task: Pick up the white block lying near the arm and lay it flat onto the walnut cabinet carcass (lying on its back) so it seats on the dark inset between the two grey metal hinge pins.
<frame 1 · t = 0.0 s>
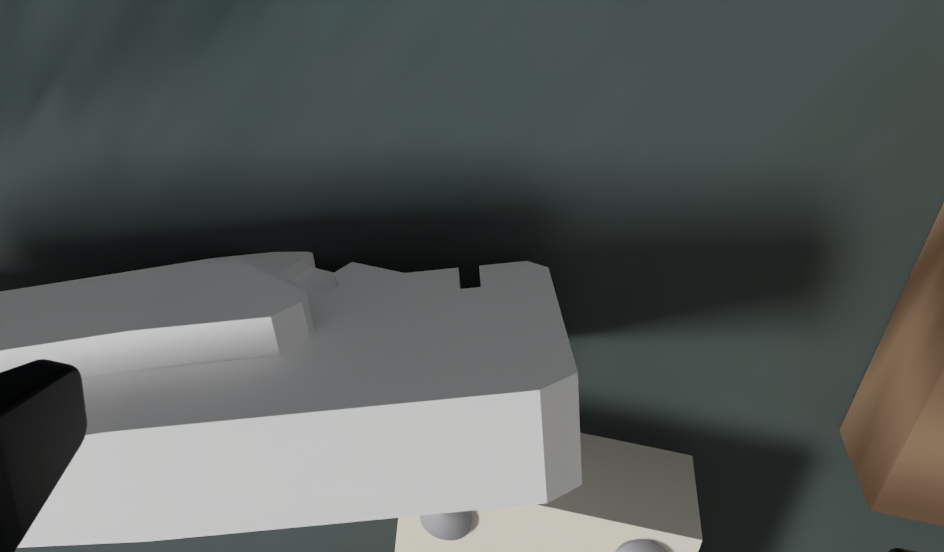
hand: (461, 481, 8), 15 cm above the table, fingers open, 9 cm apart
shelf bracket: (195, 291, 27), on the table
white block: (546, 483, 28), on the table
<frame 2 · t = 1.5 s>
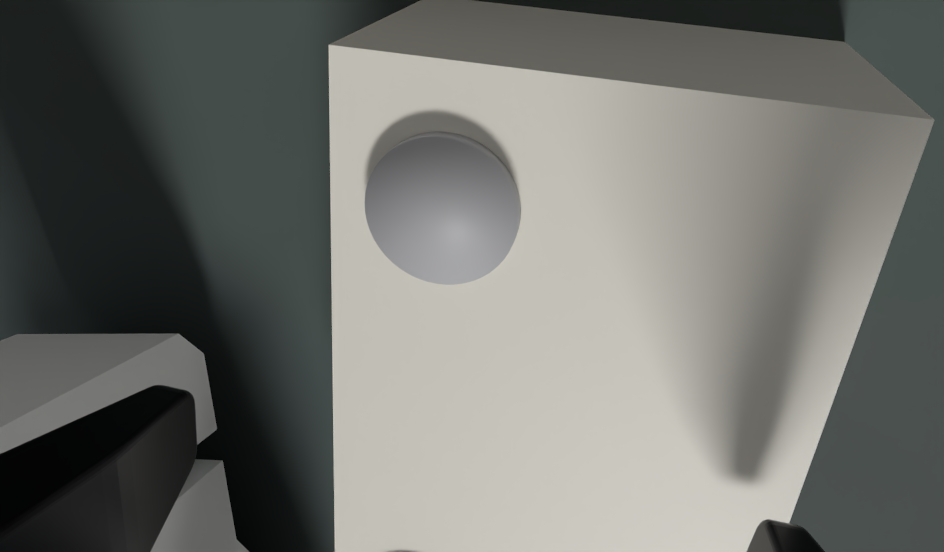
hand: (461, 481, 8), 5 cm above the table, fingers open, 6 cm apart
white block: (583, 301, 13), on the table
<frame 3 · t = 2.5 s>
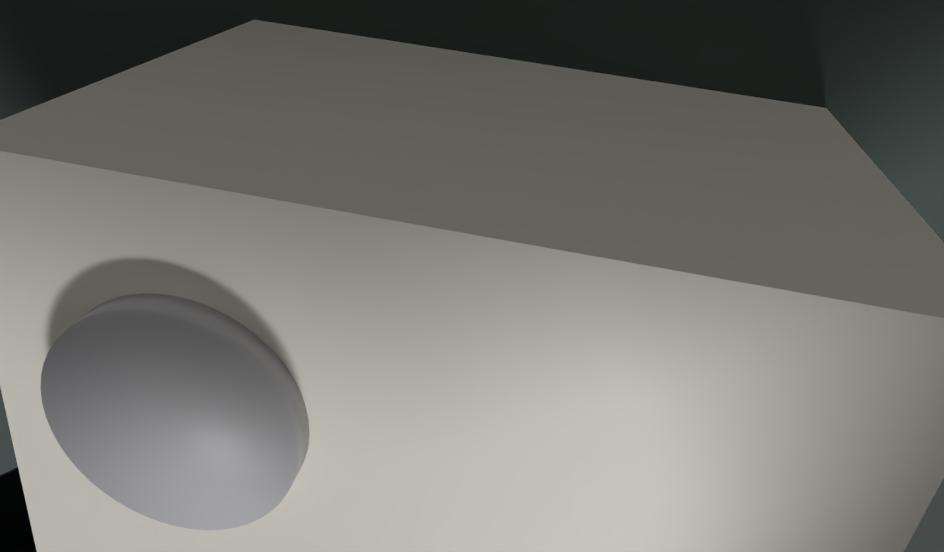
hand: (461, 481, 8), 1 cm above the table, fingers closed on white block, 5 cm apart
white block: (475, 428, 10), on the table, touching gripper
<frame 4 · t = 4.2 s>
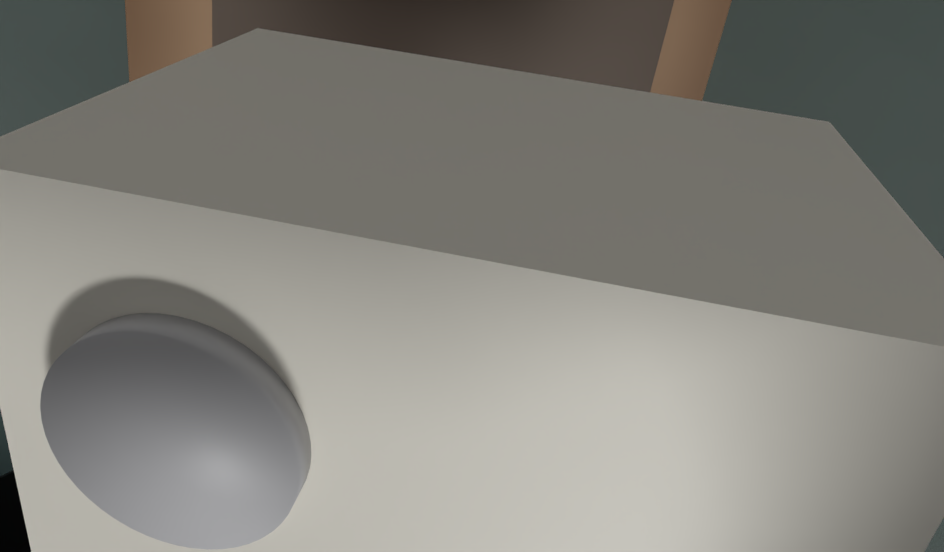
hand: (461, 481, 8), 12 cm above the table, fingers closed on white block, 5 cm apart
white block: (475, 438, 9), point 11 cm above the table, touching gripper
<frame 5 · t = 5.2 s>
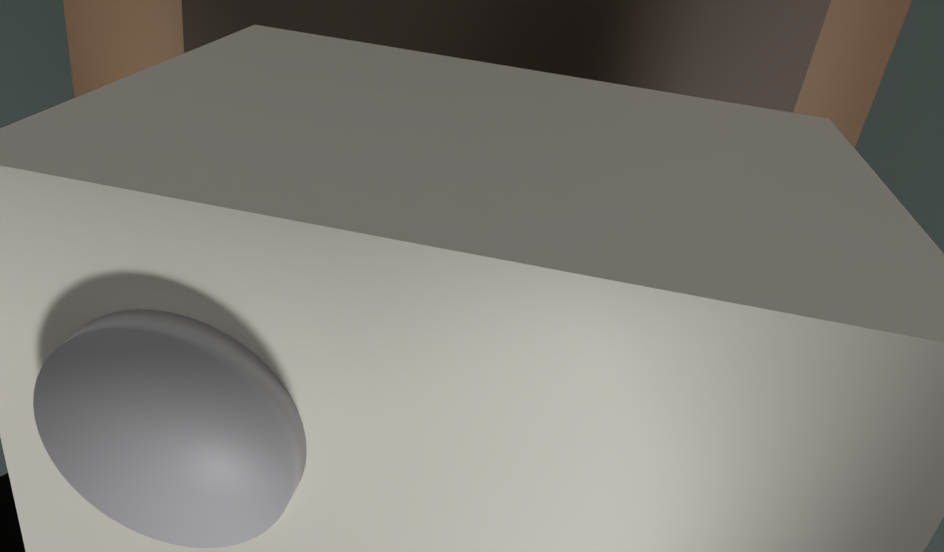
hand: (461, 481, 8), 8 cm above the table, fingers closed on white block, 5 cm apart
white block: (473, 437, 9), point 7 cm above the table, touching gripper
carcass: (459, 180, 16), on the table
when the fingers open (6 cm above the table, at t = 6.1 s): white block stays where it is, resting on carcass.
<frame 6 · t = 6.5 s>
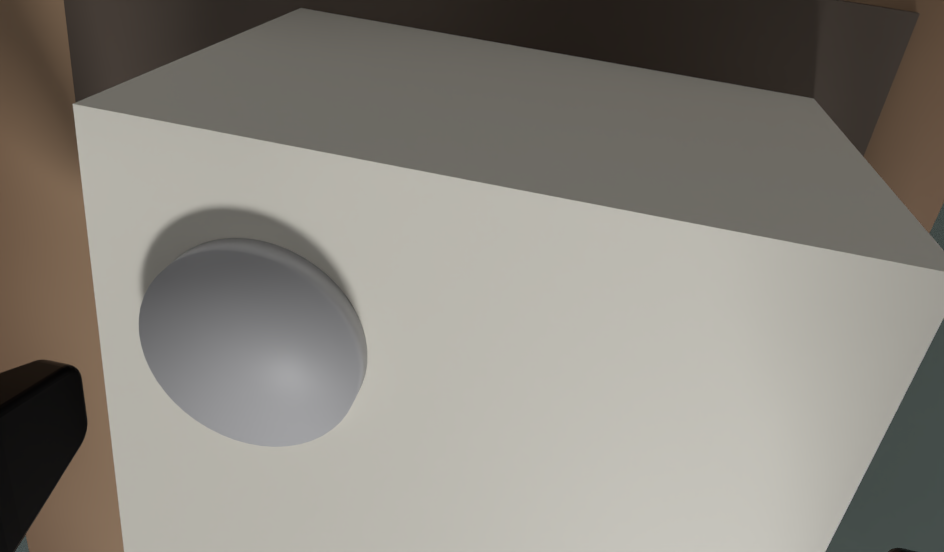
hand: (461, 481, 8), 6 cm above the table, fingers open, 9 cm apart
white block: (488, 391, 10), point 4 cm above the table, touching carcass
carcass: (434, 240, 13), on the table
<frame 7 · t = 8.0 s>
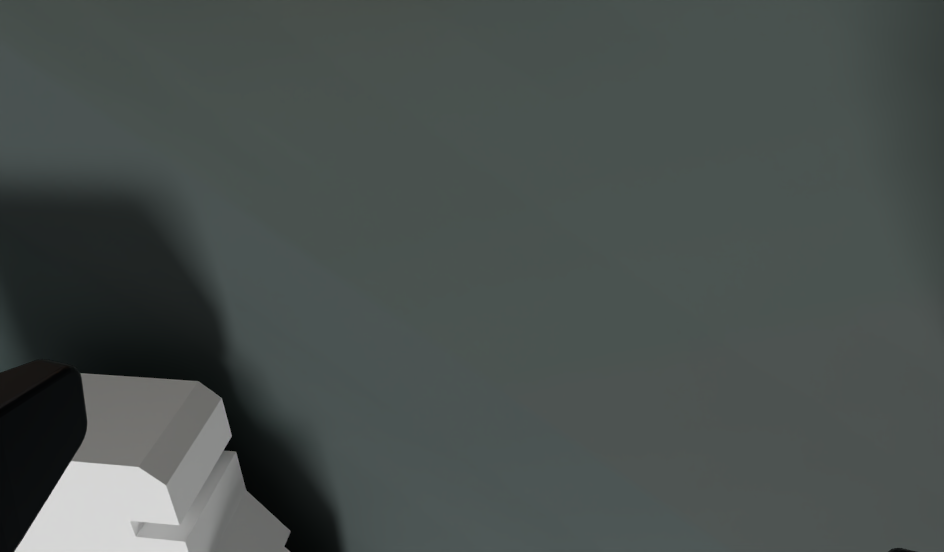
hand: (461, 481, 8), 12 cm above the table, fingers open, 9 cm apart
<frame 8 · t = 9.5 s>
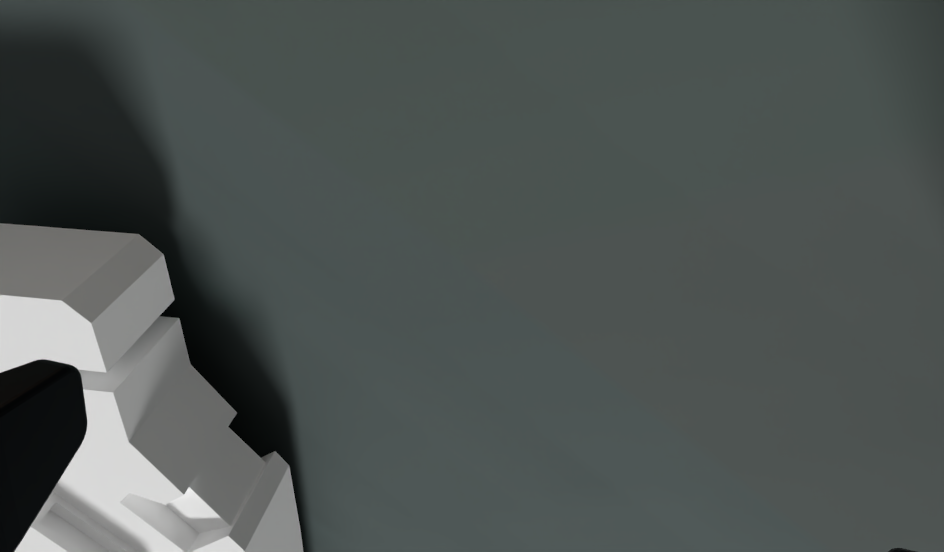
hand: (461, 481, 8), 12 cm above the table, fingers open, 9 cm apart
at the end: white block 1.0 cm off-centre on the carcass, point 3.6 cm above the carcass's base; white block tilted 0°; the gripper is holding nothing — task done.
